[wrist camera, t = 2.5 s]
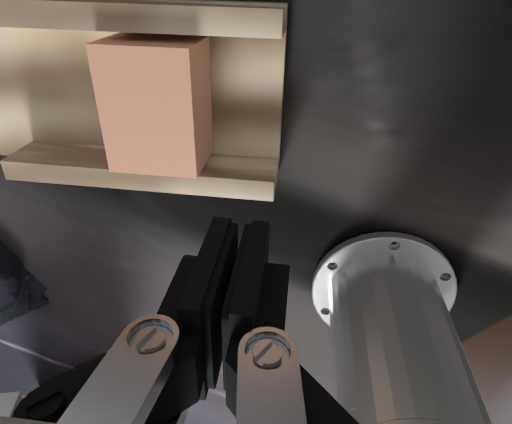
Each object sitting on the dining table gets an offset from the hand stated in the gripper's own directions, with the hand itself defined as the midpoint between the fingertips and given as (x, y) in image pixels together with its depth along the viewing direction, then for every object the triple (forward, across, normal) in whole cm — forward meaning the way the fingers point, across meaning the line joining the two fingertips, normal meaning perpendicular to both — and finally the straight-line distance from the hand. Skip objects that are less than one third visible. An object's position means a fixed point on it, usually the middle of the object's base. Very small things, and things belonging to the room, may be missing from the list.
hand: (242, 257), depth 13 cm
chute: (+19, +12, 0) cm, 23 cm away
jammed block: (+18, +8, 0) cm, 20 cm away
